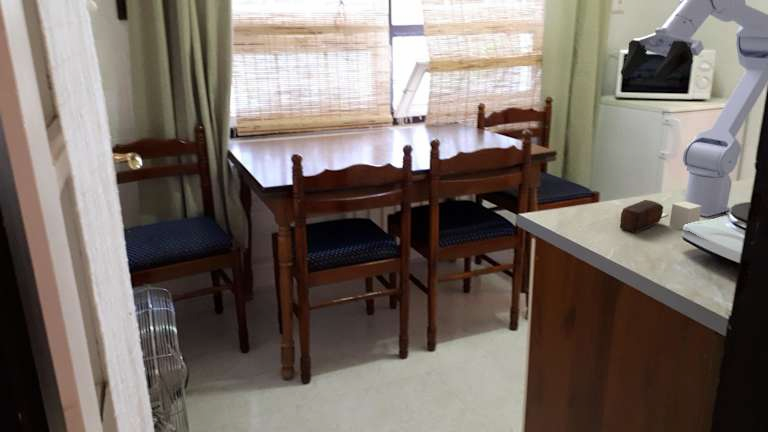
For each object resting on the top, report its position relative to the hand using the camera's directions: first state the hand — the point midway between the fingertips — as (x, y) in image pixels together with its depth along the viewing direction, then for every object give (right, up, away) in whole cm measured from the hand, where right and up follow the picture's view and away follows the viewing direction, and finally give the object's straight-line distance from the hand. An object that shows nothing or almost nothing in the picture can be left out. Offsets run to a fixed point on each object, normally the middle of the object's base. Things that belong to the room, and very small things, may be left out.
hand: (640, 77), depth 114 cm
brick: (+6, -29, +14) cm, 33 cm away
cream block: (+15, -29, +13) cm, 35 cm away
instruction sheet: (+10, -27, +20) cm, 35 cm away
